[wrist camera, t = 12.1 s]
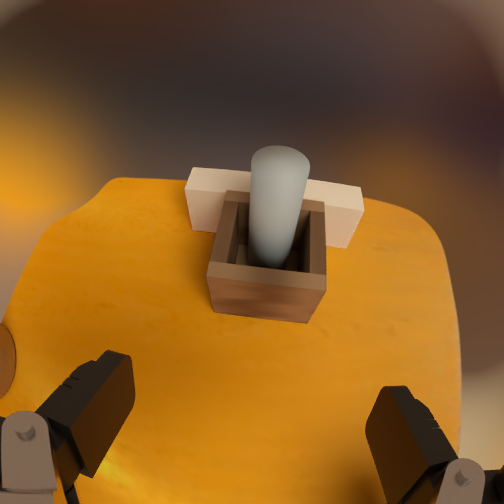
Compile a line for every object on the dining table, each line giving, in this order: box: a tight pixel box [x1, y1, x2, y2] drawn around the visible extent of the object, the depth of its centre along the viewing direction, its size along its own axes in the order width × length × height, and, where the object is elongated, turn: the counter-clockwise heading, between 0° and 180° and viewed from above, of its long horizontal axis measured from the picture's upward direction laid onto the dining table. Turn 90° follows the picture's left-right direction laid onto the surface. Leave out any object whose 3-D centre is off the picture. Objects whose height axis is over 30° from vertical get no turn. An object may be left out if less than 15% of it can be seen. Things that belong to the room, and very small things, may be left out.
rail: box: [185, 167, 364, 249], centre depth 28 cm, size 16×3×6 cm, turn 83°
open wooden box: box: [206, 190, 326, 323], centre depth 25 cm, size 8×8×7 cm
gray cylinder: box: [247, 146, 310, 270], centre depth 22 cm, size 4×4×12 cm
